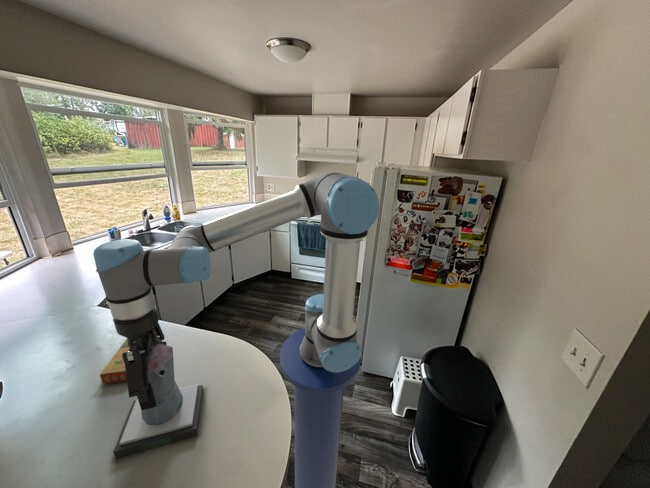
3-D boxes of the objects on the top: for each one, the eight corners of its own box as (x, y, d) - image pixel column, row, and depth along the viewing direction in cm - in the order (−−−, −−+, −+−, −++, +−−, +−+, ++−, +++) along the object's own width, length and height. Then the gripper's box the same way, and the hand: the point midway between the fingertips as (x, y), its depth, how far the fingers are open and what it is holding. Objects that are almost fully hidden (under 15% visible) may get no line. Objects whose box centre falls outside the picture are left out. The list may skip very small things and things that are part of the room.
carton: (102, 385, 74) (98, 374, 73) (129, 346, 89) (126, 336, 87) (133, 380, 76) (130, 370, 74) (155, 343, 91) (153, 333, 89)
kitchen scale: (203, 390, 74) (201, 382, 73) (197, 436, 62) (195, 427, 61) (135, 406, 69) (132, 398, 67) (115, 460, 57) (111, 450, 56)
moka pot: (158, 443, 56) (137, 377, 49) (126, 407, 64) (104, 346, 57) (197, 409, 64) (184, 347, 57) (165, 380, 72) (150, 323, 65)
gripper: (133, 286, 62) (151, 355, 70) (84, 354, 42) (118, 439, 50) (167, 283, 64) (181, 349, 72) (137, 344, 44) (161, 428, 52)
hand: (155, 386), depth 61 cm, fingers closed on moka pot, 10 cm apart
